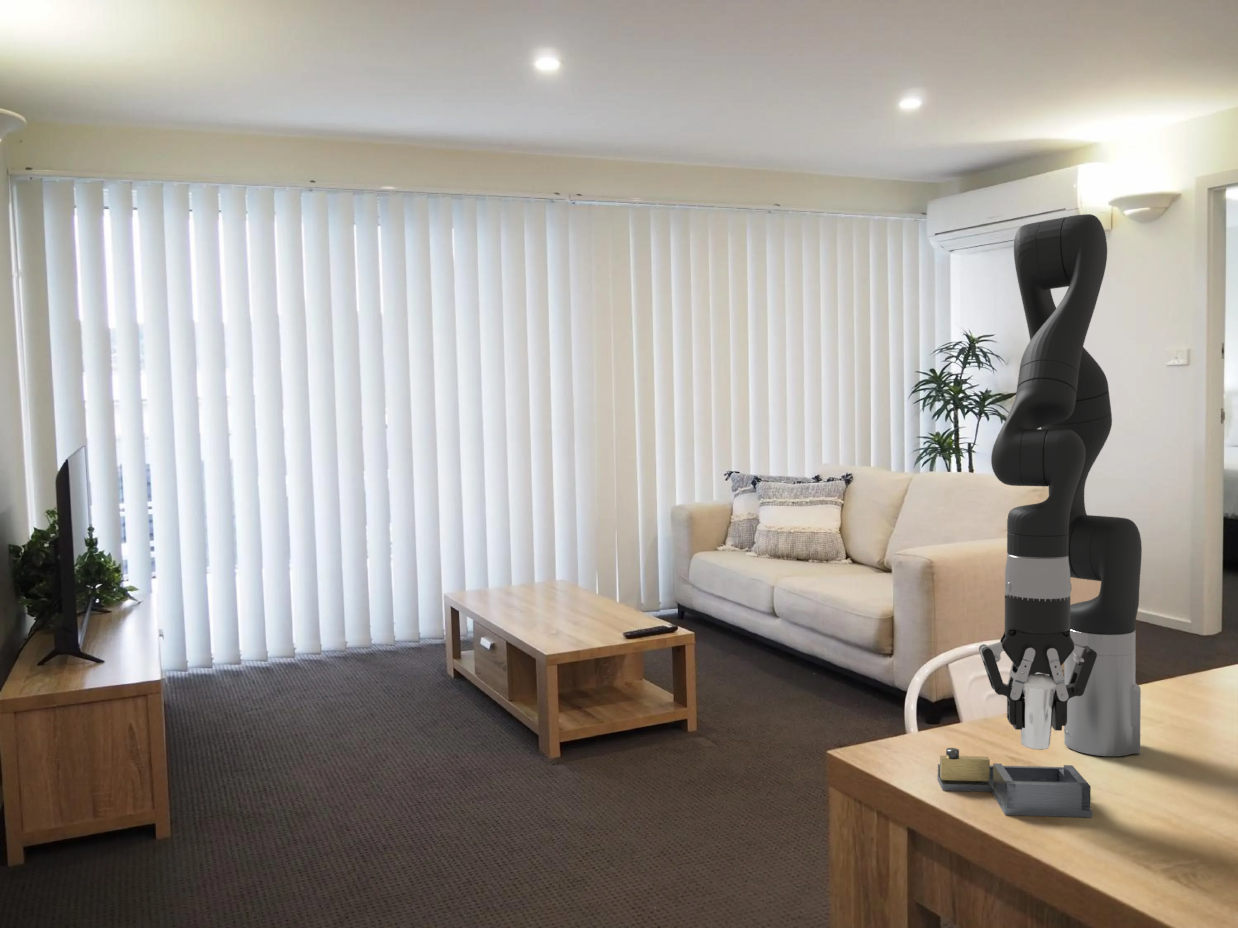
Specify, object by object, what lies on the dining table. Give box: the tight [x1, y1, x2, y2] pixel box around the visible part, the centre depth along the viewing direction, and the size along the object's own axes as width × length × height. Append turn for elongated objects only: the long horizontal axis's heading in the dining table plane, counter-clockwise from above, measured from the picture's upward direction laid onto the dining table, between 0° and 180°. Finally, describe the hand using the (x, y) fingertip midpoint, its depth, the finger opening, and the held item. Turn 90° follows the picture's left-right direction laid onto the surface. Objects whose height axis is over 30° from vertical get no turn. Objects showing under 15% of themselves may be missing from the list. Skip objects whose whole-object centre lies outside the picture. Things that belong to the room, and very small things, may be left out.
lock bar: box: [939, 747, 991, 781], centre depth 135 cm, size 6×2×4 cm, turn 82°
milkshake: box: [1020, 667, 1065, 751], centre depth 129 cm, size 5×5×10 cm
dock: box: [937, 763, 1093, 818], centre depth 131 cm, size 16×12×4 cm
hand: (1036, 727), depth 129 cm, fingers closed on milkshake, 4 cm apart
